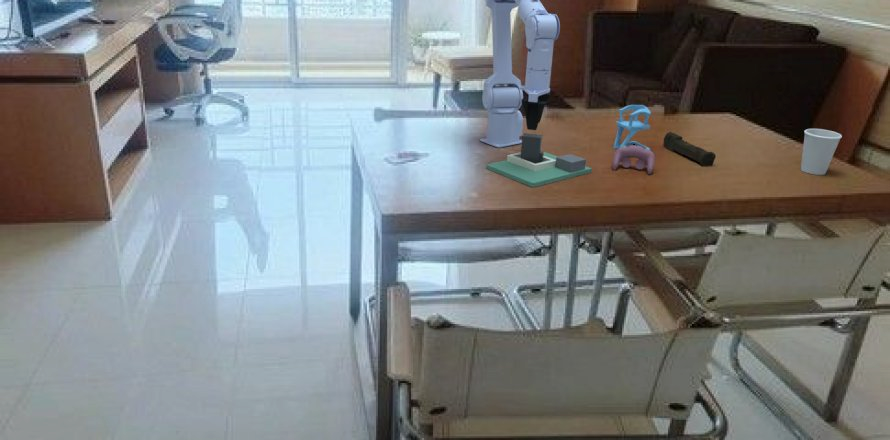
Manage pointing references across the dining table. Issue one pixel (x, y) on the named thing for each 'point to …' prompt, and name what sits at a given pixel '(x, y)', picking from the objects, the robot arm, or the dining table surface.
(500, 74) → the robot arm
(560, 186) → the dining table surface
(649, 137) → the dining table surface
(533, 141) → the dark grey upright block
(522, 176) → the circuit board
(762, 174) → the dining table surface
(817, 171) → the dixie cup
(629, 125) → the chair
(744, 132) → the dining table surface
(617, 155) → the video game controller
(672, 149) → the hand tool
